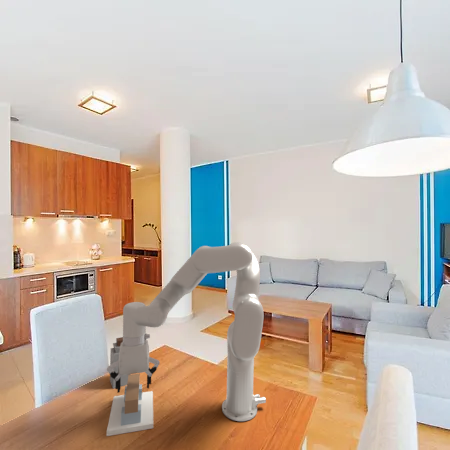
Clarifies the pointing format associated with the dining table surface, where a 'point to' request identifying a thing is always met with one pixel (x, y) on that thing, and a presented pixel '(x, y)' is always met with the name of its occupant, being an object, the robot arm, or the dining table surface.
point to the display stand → (131, 414)
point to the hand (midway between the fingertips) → (133, 388)
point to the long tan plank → (132, 393)
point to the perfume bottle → (113, 358)
